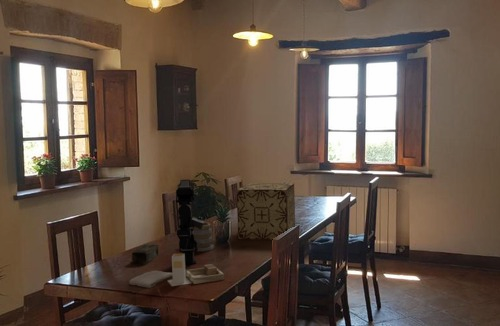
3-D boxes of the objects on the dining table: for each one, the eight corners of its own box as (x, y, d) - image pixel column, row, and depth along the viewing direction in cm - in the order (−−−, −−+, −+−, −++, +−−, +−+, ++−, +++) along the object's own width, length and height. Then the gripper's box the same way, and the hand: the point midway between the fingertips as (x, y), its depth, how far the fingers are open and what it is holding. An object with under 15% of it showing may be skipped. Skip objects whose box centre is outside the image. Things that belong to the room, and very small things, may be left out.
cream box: (174, 280, 229) (173, 253, 228) (185, 279, 229) (184, 253, 228) (172, 283, 223) (171, 256, 222) (184, 283, 223) (183, 256, 222)
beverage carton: (159, 255, 276) (158, 243, 275) (146, 265, 257) (146, 252, 256) (145, 255, 277) (144, 243, 277) (131, 265, 258) (130, 252, 258)
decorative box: (238, 239, 307) (236, 189, 305) (250, 228, 336) (248, 183, 334) (287, 240, 300) (286, 189, 298) (295, 229, 329) (294, 183, 327)
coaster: (167, 281, 229) (167, 280, 229) (186, 278, 232) (186, 277, 232) (171, 287, 220) (171, 286, 220) (192, 284, 224) (191, 283, 224)
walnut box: (204, 273, 237) (203, 264, 237) (212, 272, 239) (212, 263, 239) (208, 277, 231) (208, 268, 231) (217, 276, 232) (216, 267, 232)
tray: (185, 276, 235) (185, 270, 235) (214, 272, 241) (214, 266, 240) (194, 285, 222) (193, 278, 222) (224, 280, 228) (224, 274, 227)
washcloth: (175, 277, 236) (174, 271, 235) (149, 289, 220) (149, 282, 220) (154, 274, 241) (154, 268, 241) (128, 285, 226) (128, 279, 225)
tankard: (217, 249, 284) (216, 222, 283) (196, 252, 278) (195, 225, 276) (201, 242, 301) (200, 217, 300) (181, 245, 295) (180, 220, 293)
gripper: (200, 216, 228) (201, 251, 229) (204, 209, 247) (205, 241, 248) (175, 217, 228) (177, 251, 229) (181, 210, 247) (182, 241, 248)
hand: (186, 246), depth 239 cm, fingers open, 9 cm apart
